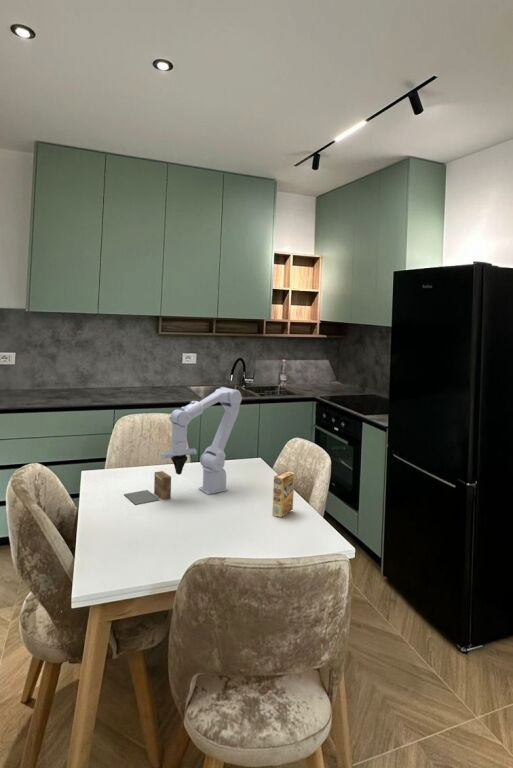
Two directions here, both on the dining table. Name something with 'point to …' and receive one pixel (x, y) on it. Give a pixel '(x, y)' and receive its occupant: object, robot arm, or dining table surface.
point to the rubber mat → (141, 497)
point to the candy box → (283, 493)
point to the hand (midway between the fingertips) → (178, 473)
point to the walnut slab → (162, 485)
